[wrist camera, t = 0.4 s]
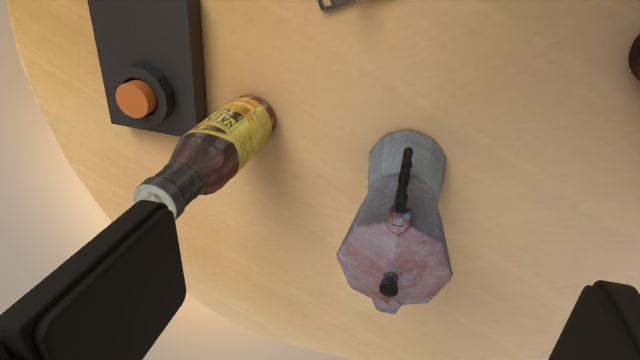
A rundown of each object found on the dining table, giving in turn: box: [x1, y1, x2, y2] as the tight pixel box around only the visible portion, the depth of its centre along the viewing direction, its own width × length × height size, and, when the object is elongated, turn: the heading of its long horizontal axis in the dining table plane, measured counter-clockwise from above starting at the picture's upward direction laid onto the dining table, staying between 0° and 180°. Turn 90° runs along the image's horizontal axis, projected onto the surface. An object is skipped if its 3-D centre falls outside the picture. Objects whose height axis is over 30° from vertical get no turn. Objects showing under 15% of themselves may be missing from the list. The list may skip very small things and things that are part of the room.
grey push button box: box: [88, 0, 207, 137], centre depth 46 cm, size 16×12×4 cm
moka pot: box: [337, 129, 453, 314], centre depth 38 cm, size 10×15×20 cm, turn 4°
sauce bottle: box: [134, 95, 275, 220], centre depth 40 cm, size 7×6×20 cm
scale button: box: [116, 80, 157, 118], centre depth 46 cm, size 4×4×2 cm
